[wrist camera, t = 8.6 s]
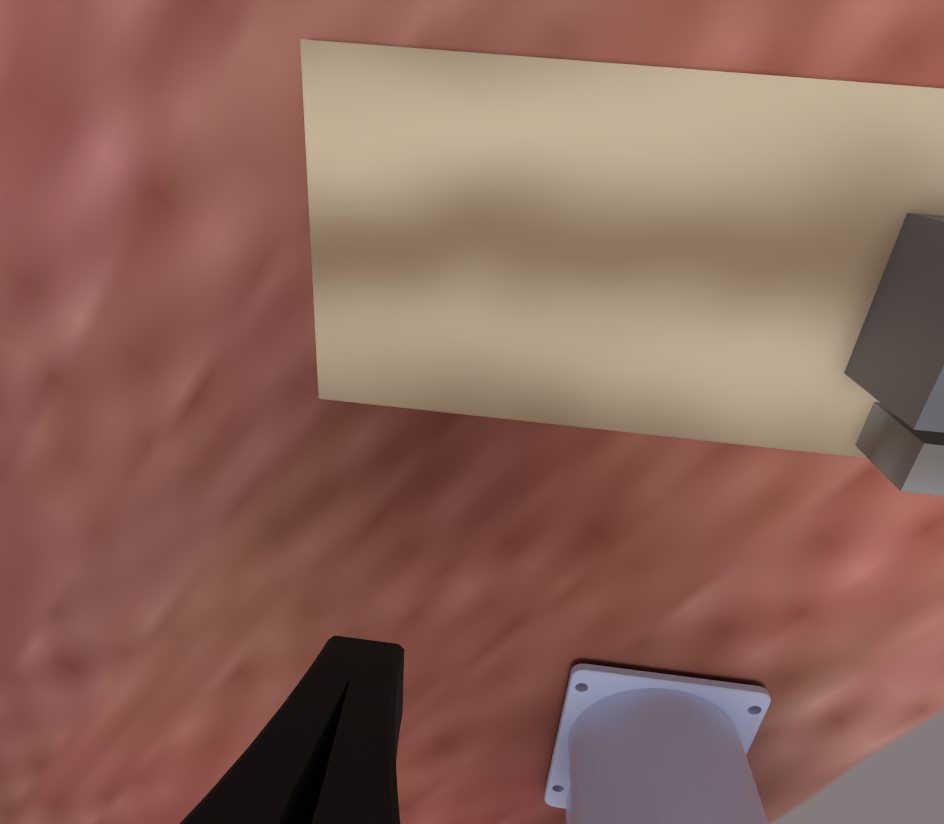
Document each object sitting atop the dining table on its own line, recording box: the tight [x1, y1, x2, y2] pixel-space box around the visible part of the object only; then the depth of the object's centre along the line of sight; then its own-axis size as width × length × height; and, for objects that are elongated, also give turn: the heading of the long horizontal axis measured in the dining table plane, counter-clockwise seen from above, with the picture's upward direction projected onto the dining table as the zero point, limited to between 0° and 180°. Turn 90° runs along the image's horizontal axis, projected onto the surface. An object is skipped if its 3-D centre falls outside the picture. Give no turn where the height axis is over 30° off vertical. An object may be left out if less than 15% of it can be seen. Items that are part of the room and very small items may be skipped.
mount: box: [300, 39, 944, 496], centre depth 15 cm, size 10×33×3 cm, turn 86°
